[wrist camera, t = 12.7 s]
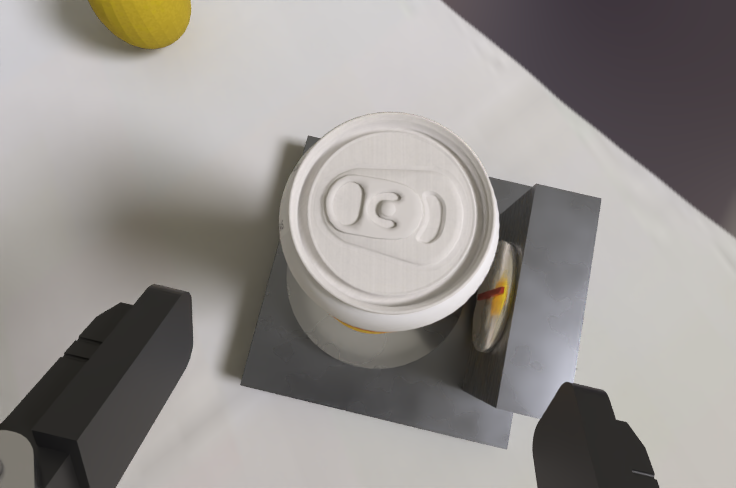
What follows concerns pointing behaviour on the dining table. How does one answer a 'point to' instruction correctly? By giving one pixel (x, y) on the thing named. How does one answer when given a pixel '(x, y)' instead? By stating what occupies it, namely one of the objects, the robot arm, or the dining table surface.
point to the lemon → (144, 20)
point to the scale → (460, 331)
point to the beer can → (389, 222)
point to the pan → (365, 335)
